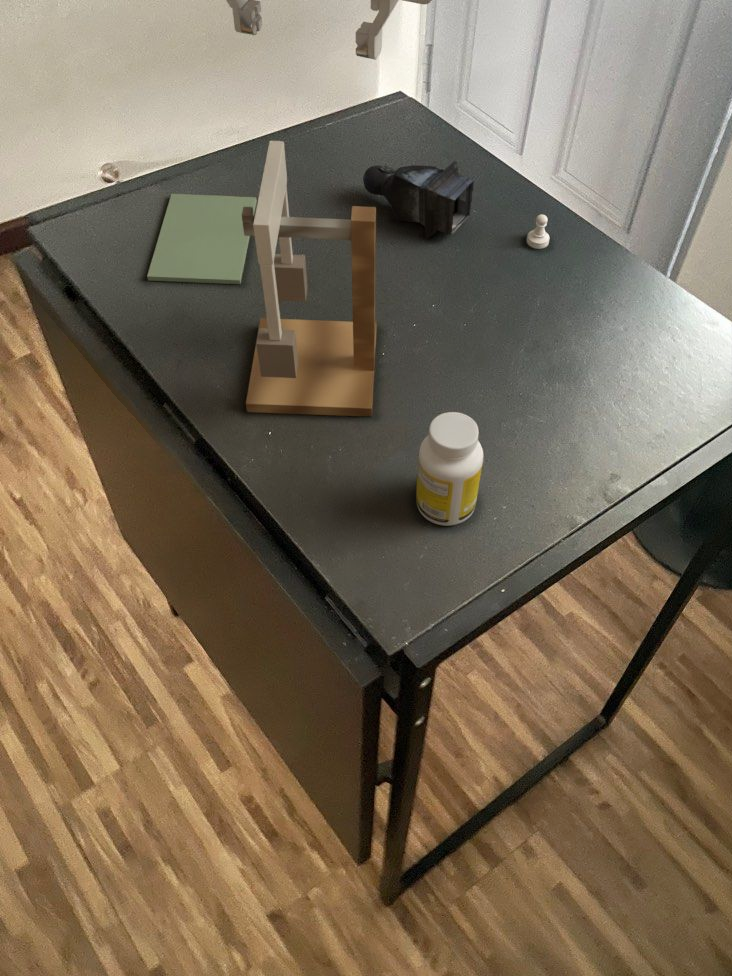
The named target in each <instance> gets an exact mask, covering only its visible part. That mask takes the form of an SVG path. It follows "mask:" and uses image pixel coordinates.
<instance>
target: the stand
mask: <svg viewBox="0 0 732 976" xmlns="http://www.w3.org/2000/svg"><path fill="white" fill-rule="evenodd" d="M254 218H255V213H254V214H253V208H252V207H243V211H242V222H243V230H244V235H245V236H250V237H255V235H254V227H253V223H254ZM279 237H288V238H291V239H294V238H295V239H315V240H336V241H337V240H338V241H339V240H340V241H350V245H351V246H350V247H351V248H350V249H351V252H350V253H351V254H350V255H351V297H352V298H351V300H352V306H351V307H352V321H345V320H341V321H340V320H319V319H318V320H316V319H295V318H292V319H291V318H280V321H281V329H285V330H295V335H296V345H297V356H298V368H297V376H296V378H280V377H261V372H260V365H259V359H258V352H257V345H256V343H257V339H256V341H255V347H254V353H253V358H252V365H251V370H250V376H249V382H248V387H247V394H246V400H245V407H246V412H247V413H260V414H261V413H263V414H284V415H285V414H288V415H291V414H292V415H310V416H311V415H313V416H314V415H315V416H342V417H366V418H372V417H373V408H374V407H373V406H374V405H373V403H374V389H375V387H374V386H375V385H374V384H375V369H376V352H377V351H376V350H377V349H376V348H377V335H378V334H377V332H378V331H377V330H378V329H377V328H378V324H377V322H376V271H377V270H376V269H377V268H376V263H377V262H376V260H377V259H376V257H377V256H376V254H377V248H376V247H377V207H376V206H356V205H352V206H351V214H350V219H347V218H346V219H345V218H323V217H322V218H321V217H318V218H317V217H300V216H299V217H298V216H297V217H296V216H289V217H281V221H280V227H279V233H278V238H279ZM259 328H260V329H268V324H267V317H260V318H259V324H258V329H257V332H258V331H259ZM257 337H258V334H257V336H256V338H257Z"/></svg>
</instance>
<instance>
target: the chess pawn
mask: <svg viewBox="0 0 732 976" xmlns="http://www.w3.org/2000/svg"><path fill="white" fill-rule="evenodd" d="M547 225H548V216H547V215H545V214H544V213H543V214H538V215H537V216H536V218H535V226H536V227H535V228H534V229H533V230H530V231H528V233H527V236H526V244H527V245H528V246H529V247H530V248H533V249H535V250H536V249H537V250H541V249H544V248H545V249H546V248H547V247H548V246H549V243H550V234H549V233H548V232H546V230H545V228H546V227H547Z"/></svg>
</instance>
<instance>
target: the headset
mask: <svg viewBox="0 0 732 976" xmlns="http://www.w3.org/2000/svg"><path fill="white" fill-rule="evenodd" d="M285 149H286V148H285V141H283V140H269V141H268V147H267V152H266V157H265V161H264V168H263V173H262V178H261V183H260V187H259V191H258V192H259V193H258V197H257V203H256V208H255V213H254V216H255V218H254V223H253V227H254V235H255V236H254V241H255V249H256V256H257V264H259V269H260V277H261V284H262V291H263V301H264V307H265V316H266V318H267V324H268V329H260V328H259V327H258V329H259V331H258V330H257V335H258V337H257V336H256V340H257V343H256V342H255V346H256V345H257V352H258V359H259V365H260V372H261V377H280V378H296V376H297V368H298V356H297V345H296V335H295V330H285V329H281V321H280V319H281V312H280V304H279V302H298V303H300V302H301V303H306V302H307V296H308V276H307V275H308V274H307V261H306V255H305V254H293V253H294V252H293V242H292V238H288V237H278V233H279V227H280V221H281V217H290V209H289V199H288V198H289V196H288V188H287V183H288V174H287V164H286V152H285V151H286V150H285ZM277 243H279V250H280V251H279V252H280V253H276V252H277V251H276V250H277V245H278V244H277Z"/></svg>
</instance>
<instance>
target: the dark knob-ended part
mask: <svg viewBox="0 0 732 976" xmlns="http://www.w3.org/2000/svg"><path fill="white" fill-rule="evenodd" d="M362 181H363V185H364V188H365V190H366V191H367V192H368V193H369V194H371V195H373V196H382V197H384V198H385V199H386V201H387V202H388V204H389V206H390V208H391V210H392V213H393V215H394V217H395V219H396V221H400V222H409V223H420V224H421V225H422V226H424V228H425V229H424V238H425V239H428V238H429V237H432V236H433V235H434V234H435V233H436V232H438V231H439V232H442V233H443V234H444V235H445V236H453V235H454V233H456V231H458V229H459V228H460V227H461V226H462V225H463V223H465V222H466V221H467V220H468V218H469V217H470V216H471V210H472V202H473V191H474V182H475V180H474V179H471V177H470V175H467V176H463V175H460V173H459V166H458V162H457V160H454V161H453V162H451V163H450V165H448V166H447V167H446V168H445V169H442V168H438V167H436V166H434V165H408V166H406V165H405V166H400V167H398V168H397V169H395V168H393V167H390V166H387V165H378V164H377V165H372V166H370V167H368V168H367V169H366V170H365V172H364V173H363V176H362Z"/></svg>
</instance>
